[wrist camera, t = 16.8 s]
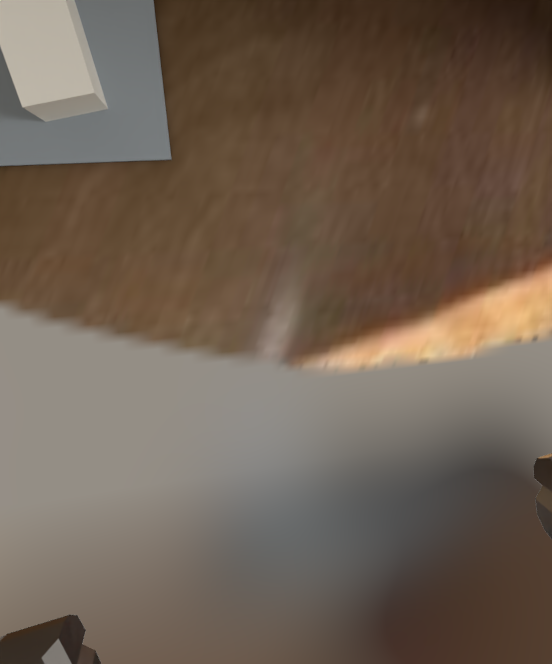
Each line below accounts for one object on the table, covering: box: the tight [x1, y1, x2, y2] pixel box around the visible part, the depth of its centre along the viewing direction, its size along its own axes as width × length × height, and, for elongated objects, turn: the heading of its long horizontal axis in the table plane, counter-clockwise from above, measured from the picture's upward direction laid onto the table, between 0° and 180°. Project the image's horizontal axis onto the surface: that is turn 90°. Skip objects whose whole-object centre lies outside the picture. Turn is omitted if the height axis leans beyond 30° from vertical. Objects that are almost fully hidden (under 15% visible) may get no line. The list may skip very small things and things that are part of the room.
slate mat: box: [0, 0, 171, 166], centre depth 31 cm, size 14×14×1 cm
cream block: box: [0, 0, 108, 122], centre depth 28 cm, size 4×4×8 cm
